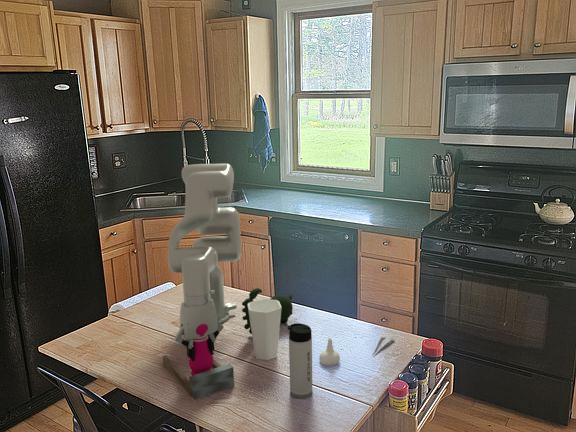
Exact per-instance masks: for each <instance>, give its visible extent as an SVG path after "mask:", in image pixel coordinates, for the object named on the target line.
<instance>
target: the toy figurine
mask: <svg viewBox="0 0 576 432" xmlns="http://www.w3.org/2000/svg"><path fill="white" fill-rule="evenodd" d="M262 293H263V290H262V289H261V288H259V287H258V288H257V287H256V288H252V290H251V291H250V292H249V295H248V297H247V298H245V300H244V301H242V302H241V305H242V306H244V307H243V308H242V309H241V312H243V313H244V314H245V315H243V316H242V320H243V321H246V323H245V324H244V326H243V328H244V329H245V330H248V332H249V334H250V335H252V331H251V325H250V318H249V311H248V305H247V304H248V303H250V302H253V301H254V300H255V299H256V298H257V296H258V295H259V294H262ZM270 299H271V300H278V301H279V302H280V305H281V307H282V308H281V319H280V329H281V327H282V325H281V324H287V323H288V321H289V318H290V317H291V316H292V315H293V303H292V299H293V294H289V295H283V294H276V295H273V296H272V297H270Z"/></svg>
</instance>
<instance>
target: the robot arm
mask: <svg viewBox="0 0 576 432" xmlns="http://www.w3.org/2000/svg"><path fill="white" fill-rule="evenodd" d="M234 173H235V172H234V168H233V166H232V165H231V164H229V163H197V164H196V163H195V164H194V163H193V164H188V165H185V166H183V167H182V169H181V178H182V181H183V183H184V184H185V206H184V216H182V218H181V219H180V220H179V221H178V222H177V223H176V225H175V226H174V228H172V229H173V230H172V231H171V233H170V236H169V239H168V249H167V251H168V252H167V264H168V268H169V270H170V271H171V272H172V273H174V274H181V278H182V291H183V302H181V304H180V309H179V310H180V311H179V329H178V331H177V333H176V334H175V337H174V340H175V342H177V343H178V344H181V345H183V346H185V347H186V356H187V358H188V359H189V358H191V360H192V361H194V359H195V352H194V348H193V341H194V338H197V337H200V335H198V334H196V329H197V327H198V326H199V325H201V324H206V325H207V326H208V331H207V332H206V333H205V334H204V335H208V338H207V346H208V348H209V350H210V353H211V355H212V356H214V351H215V342H216V339H217V337H218V336H219V334H220V333H221V332H222V330H223V329H224V325H223V324H222V323H224V322H226V321H228V320H229V318H230V313H229V312H230V311H232V310H236V309H238V306H237V304H236V303H233V304H232V303H230V302H229V303H226V304H225V291H224V290H225V288H224V286H225V285H224V274H223V271H222V268H221V267H220V266H219V265H218V263H233V262H237V261H239V260H241V259H240V258H241V257H242V239H241V222H240V221H241V220H240V215H239V212H238V210H237V209H236V208H234V207H225V206H224V207H219V205H218V198H229V197H231V196H232V192H233V190H234V189H233V188H234V182H235V181H234V180H235V174H234ZM193 231H196V232H197V233H198V234H200V235H212V236H202V237H198V238H196V239H195V240H194V241H193V244H192V246H186V247H185V246H181V247H180V243H181V240H182V239H183V238H184V237H186V235H188V234H189V233H192V232H193ZM213 235H214V236H213ZM215 235H216V236H215ZM217 235H218V236H217ZM219 235H222V236H219ZM224 235H225V236H224ZM183 336H184V337H185V339H184V338H182V337H183Z"/></svg>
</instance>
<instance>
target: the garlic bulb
mask: <svg viewBox="0 0 576 432" xmlns="http://www.w3.org/2000/svg"><path fill="white" fill-rule="evenodd" d="M318 357H319V362H320V364H322V365H324V366H328V367H330V366H331V367H332V366H335V365H338V364H339V362H340V360H341V357H340V354H339V352H338V351H337V350H335V349H334V346H333V341H332V337H329V338H327V346H326V348H325V349H324V350H322V351H321V352H320V354H319V356H318Z"/></svg>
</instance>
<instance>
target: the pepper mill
mask: <svg viewBox="0 0 576 432" xmlns="http://www.w3.org/2000/svg"><path fill="white" fill-rule="evenodd" d="M207 331H208V326H207V325H206V324H201V325H199V326H198V327H197V329H196V334H198V335H200V337H197V338H194V341H193V348H194V352H195V359H194V361H192V360H191V358H188V367H189V369H190V376H193V375H196V374H199V373H202V372H205V371H208V370H211V369H212V368H211V367H212V366H213V364H214V360H215V359H214V357H213V356H214V355H211V353H210V350H209V348H208V346H207V339H208V335H204V334H205V333H206V332H207ZM213 359H214V360H213Z"/></svg>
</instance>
